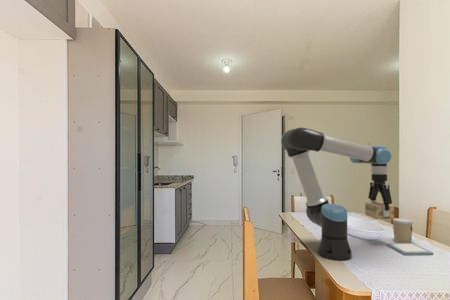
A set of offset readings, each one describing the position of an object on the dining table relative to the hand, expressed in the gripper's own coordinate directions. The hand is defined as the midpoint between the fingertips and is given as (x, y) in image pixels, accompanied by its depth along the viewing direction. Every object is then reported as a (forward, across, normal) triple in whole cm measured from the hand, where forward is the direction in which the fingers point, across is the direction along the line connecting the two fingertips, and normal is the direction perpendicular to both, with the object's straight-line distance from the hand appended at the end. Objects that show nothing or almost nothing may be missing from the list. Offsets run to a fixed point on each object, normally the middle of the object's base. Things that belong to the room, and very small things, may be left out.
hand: (379, 214), depth 146 cm
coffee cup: (+16, +1, -14) cm, 21 cm away
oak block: (+2, 0, 0) cm, 2 cm away
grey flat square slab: (+16, -12, -8) cm, 21 cm away
